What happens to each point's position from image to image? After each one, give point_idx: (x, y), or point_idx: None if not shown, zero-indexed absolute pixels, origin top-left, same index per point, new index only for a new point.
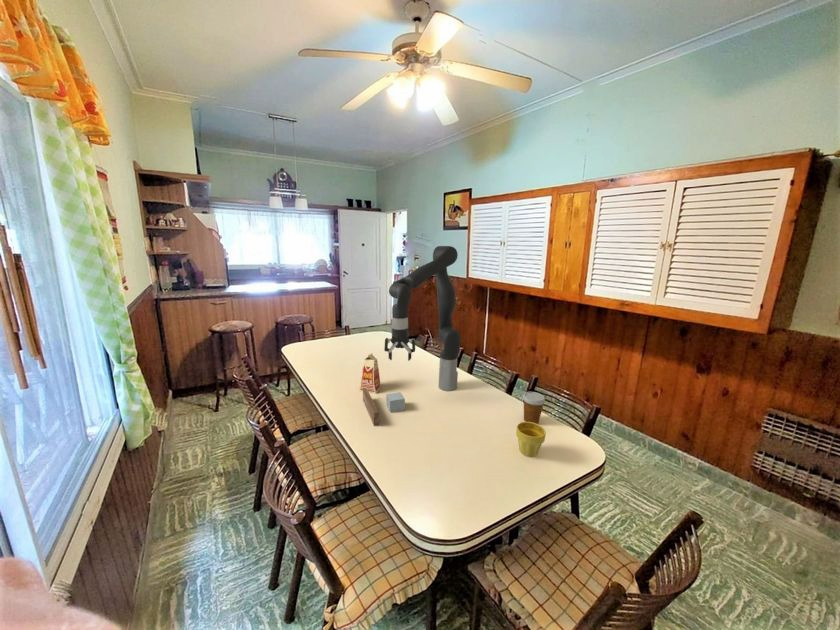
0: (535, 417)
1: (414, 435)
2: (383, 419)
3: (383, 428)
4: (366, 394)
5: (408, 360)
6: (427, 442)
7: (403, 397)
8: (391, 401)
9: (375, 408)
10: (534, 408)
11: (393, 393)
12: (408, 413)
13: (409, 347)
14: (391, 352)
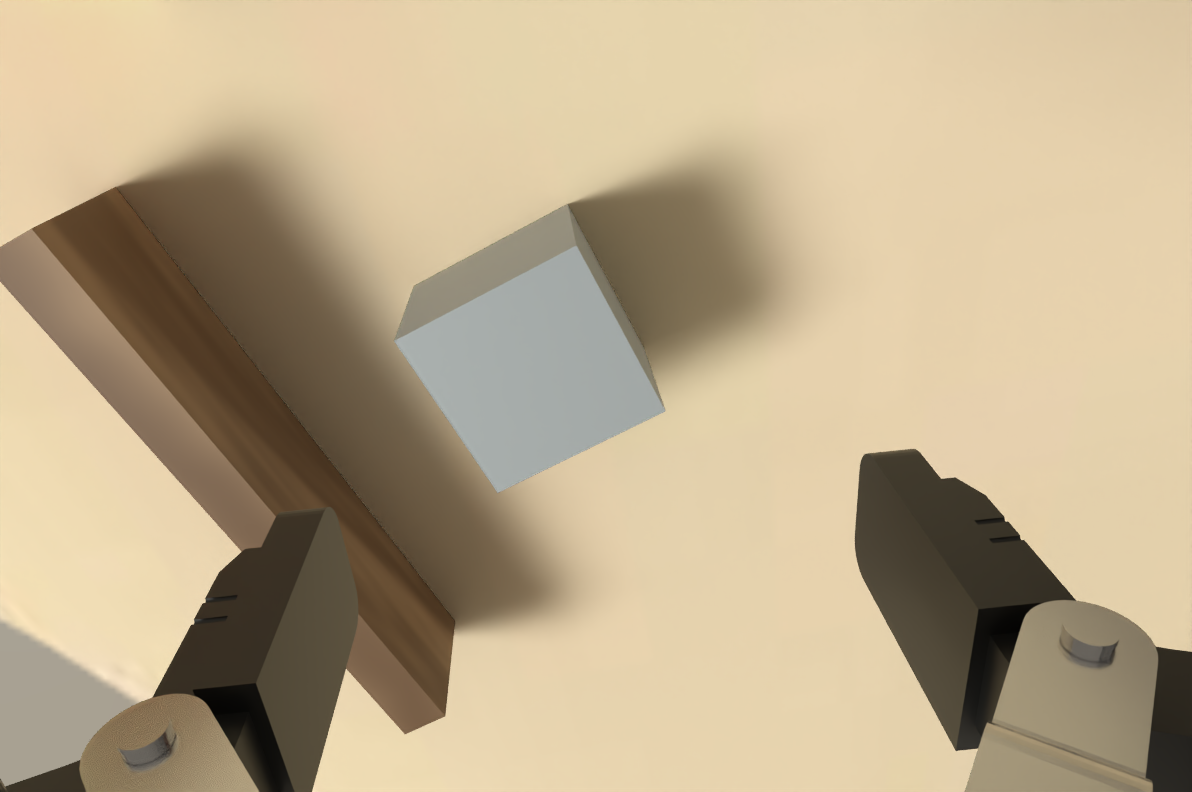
0: None
1: (768, 676)
2: (471, 538)
3: (511, 649)
4: (135, 413)
5: (865, 557)
6: (862, 721)
7: (643, 383)
8: (511, 480)
9: (390, 667)
10: None
11: (487, 304)
12: (692, 398)
13: (1145, 767)
14: (286, 777)
